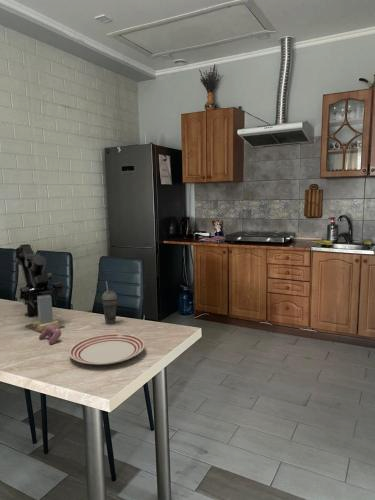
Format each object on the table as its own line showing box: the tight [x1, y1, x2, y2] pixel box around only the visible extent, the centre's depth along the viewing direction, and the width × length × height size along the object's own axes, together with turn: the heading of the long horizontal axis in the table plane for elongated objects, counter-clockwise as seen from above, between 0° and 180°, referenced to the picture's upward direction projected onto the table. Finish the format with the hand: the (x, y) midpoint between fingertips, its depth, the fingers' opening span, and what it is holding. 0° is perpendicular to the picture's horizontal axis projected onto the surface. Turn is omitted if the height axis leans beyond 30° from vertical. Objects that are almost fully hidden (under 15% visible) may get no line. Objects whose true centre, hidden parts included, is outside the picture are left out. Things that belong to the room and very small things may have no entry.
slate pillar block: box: [37, 294, 54, 324], centre depth 170 cm, size 5×5×12 cm
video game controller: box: [38, 326, 62, 346], centre depth 155 cm, size 10×5×7 cm, turn 47°
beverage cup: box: [101, 280, 118, 325], centre depth 176 cm, size 7×7×20 cm
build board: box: [25, 319, 65, 334], centre depth 172 cm, size 15×11×3 cm
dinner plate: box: [68, 333, 146, 366], centre depth 140 cm, size 27×27×3 cm
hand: (45, 305), depth 169 cm, fingers open, 9 cm apart
